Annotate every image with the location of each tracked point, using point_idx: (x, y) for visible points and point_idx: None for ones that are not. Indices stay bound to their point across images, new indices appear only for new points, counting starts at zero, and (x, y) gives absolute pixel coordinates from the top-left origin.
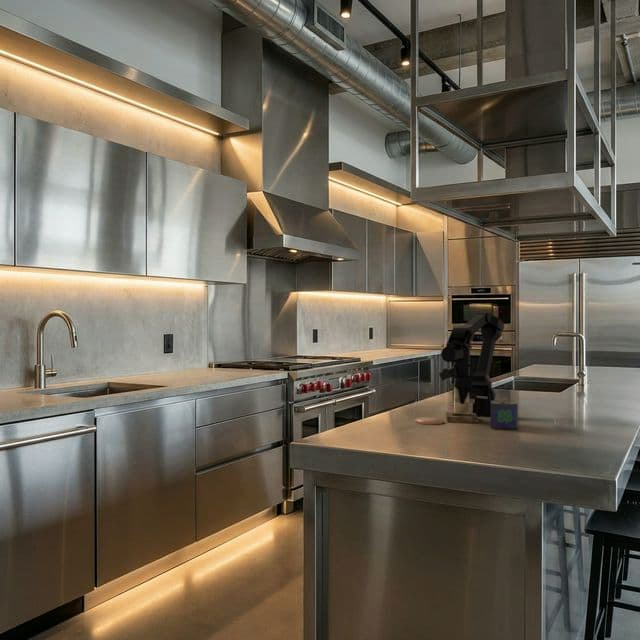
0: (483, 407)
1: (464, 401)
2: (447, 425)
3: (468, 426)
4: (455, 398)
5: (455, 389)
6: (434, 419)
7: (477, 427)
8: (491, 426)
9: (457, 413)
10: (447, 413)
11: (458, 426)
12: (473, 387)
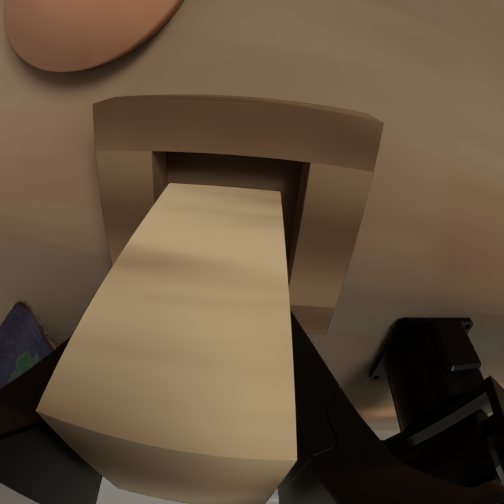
0: (397, 390)
1: None
2: (10, 106)
3: (23, 222)
4: (107, 280)
5: (43, 403)
6: (89, 3)
7: (20, 258)
8: (12, 309)
9: (307, 217)
10: (302, 123)
11: (4, 170)
12: (454, 478)
